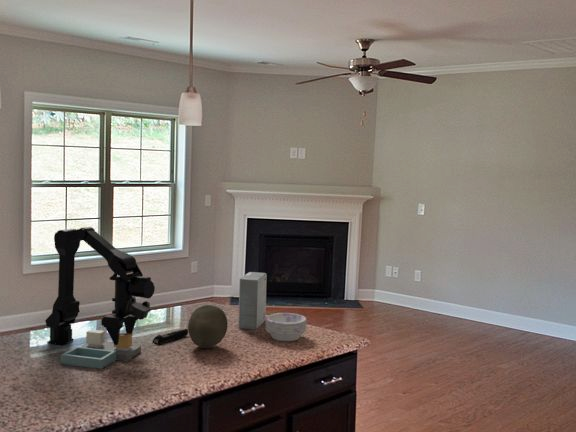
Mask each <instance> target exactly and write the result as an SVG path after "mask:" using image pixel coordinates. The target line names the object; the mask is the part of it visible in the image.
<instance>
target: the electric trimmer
mask: <svg viewBox="0 0 576 432" xmlns="http://www.w3.org/2000/svg"><path fill="white" fill-rule="evenodd" d="M188 335H189V331H188V328H185V329H184V328H183V329H180V330H179V329H178V330H175V331H172V332H170V333H169V332H168V333H166V334H162V335H161V334H158V335H157V336H156V335H155V337H154V338H153V339H152V344H153V343H154V344H153V345H156V344H161V345H162V344H163V342H164V343H166V342H170V341H173V340H174V341H175V340H179V339H181V338H185V337H186V336H188Z"/></svg>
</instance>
